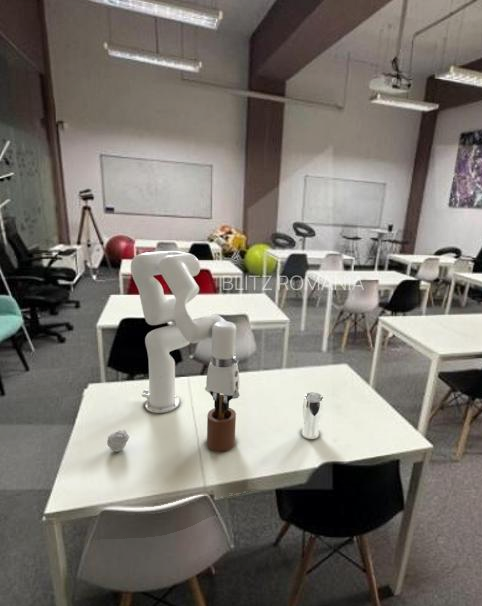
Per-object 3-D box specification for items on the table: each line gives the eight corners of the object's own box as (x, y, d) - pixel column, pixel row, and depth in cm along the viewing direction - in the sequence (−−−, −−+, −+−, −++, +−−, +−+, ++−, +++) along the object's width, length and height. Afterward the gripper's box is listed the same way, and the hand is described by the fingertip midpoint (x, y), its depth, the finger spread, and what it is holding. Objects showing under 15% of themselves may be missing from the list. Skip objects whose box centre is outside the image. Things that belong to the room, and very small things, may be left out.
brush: (212, 434, 126) (213, 397, 123) (218, 428, 130) (219, 391, 127) (223, 437, 125) (224, 399, 122) (228, 430, 129) (230, 394, 126)
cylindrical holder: (201, 447, 126) (202, 418, 123) (215, 432, 134) (216, 404, 132) (226, 454, 123) (227, 425, 120) (239, 438, 132) (240, 410, 129)
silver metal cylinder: (321, 431, 139) (325, 394, 136) (316, 442, 133) (320, 404, 129) (303, 426, 141) (307, 390, 138) (298, 437, 135) (301, 399, 131)
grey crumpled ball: (121, 458, 118) (120, 439, 116) (102, 453, 119) (101, 434, 118) (134, 447, 123) (133, 428, 122) (116, 442, 125) (115, 423, 123)
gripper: (250, 360, 123) (247, 410, 127) (207, 350, 127) (206, 399, 131) (240, 369, 116) (238, 422, 120) (195, 359, 120) (194, 410, 124)
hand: (221, 410), depth 126 cm, fingers closed on brush
